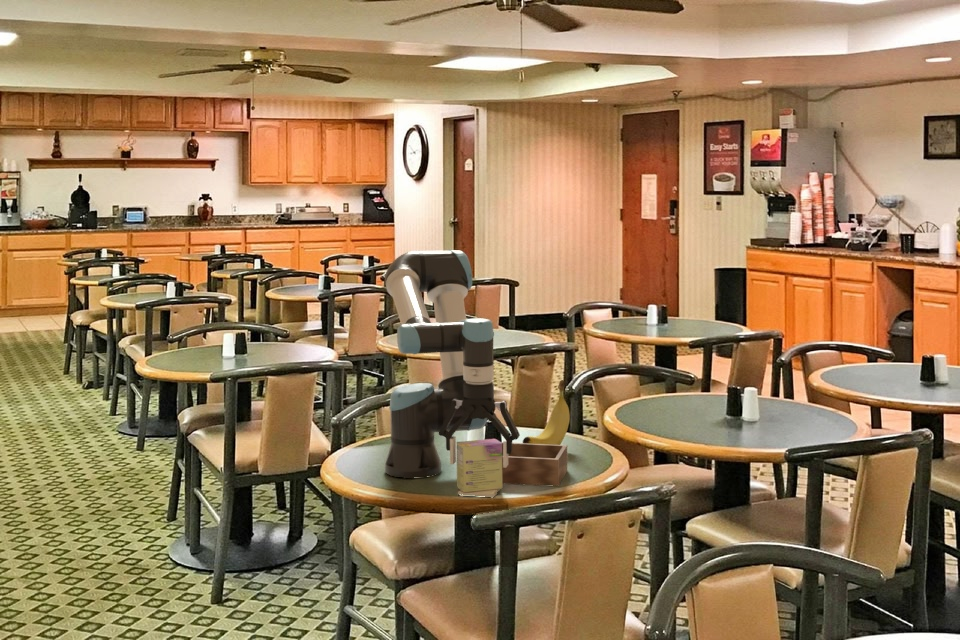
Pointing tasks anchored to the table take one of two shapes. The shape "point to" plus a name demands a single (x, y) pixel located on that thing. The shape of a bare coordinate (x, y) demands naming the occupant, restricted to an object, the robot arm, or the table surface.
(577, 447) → the table surface
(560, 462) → the crate
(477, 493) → the tile
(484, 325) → the robot arm
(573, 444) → the table surface
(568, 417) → the banana
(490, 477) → the box
